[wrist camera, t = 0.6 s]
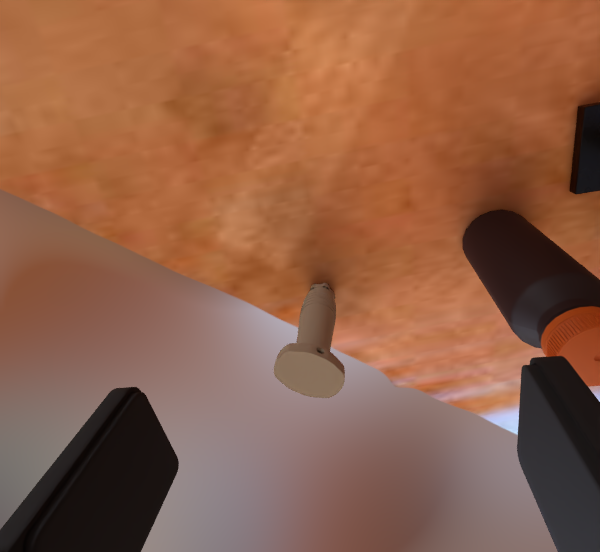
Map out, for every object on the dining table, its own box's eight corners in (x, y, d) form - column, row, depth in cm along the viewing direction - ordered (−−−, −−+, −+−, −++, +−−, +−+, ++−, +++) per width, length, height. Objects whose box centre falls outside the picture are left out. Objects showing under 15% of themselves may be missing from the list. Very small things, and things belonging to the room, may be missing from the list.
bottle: (535, 208, 39) (683, 314, 21) (519, 267, 42) (638, 401, 24) (466, 208, 40) (555, 309, 22) (456, 265, 43) (527, 394, 25)
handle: (305, 266, 45) (285, 342, 32) (353, 287, 46) (353, 370, 33) (290, 297, 48) (266, 380, 35) (336, 316, 48) (330, 405, 35)
